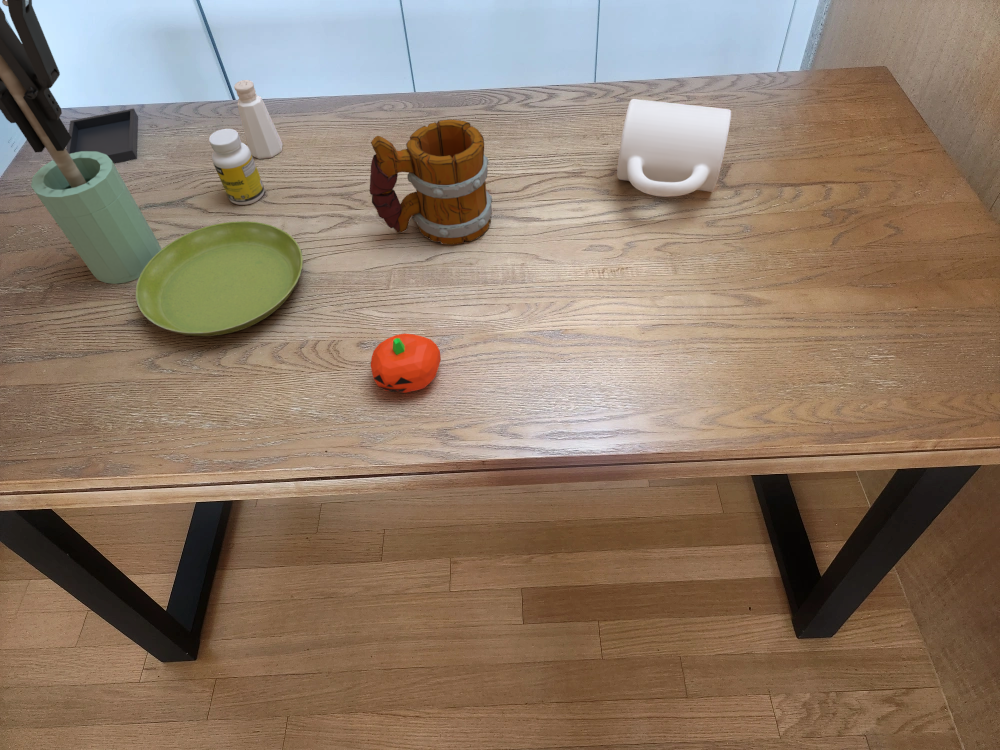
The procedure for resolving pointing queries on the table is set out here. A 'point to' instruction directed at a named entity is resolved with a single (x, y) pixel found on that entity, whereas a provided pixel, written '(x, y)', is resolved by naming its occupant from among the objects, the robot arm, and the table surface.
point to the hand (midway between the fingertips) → (53, 144)
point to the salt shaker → (257, 122)
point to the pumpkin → (405, 363)
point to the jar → (98, 217)
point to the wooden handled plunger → (60, 157)
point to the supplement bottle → (236, 167)
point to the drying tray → (106, 135)
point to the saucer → (219, 278)
